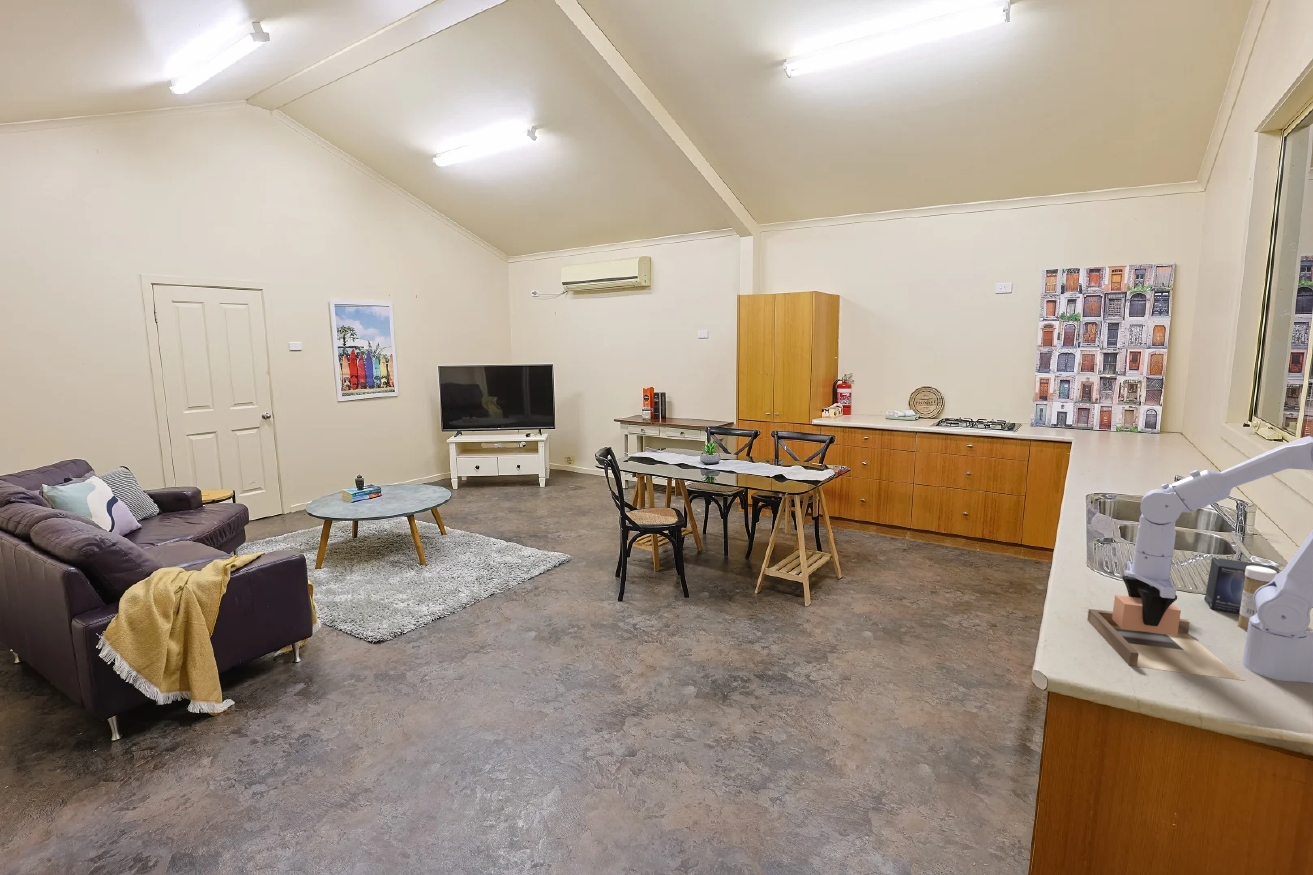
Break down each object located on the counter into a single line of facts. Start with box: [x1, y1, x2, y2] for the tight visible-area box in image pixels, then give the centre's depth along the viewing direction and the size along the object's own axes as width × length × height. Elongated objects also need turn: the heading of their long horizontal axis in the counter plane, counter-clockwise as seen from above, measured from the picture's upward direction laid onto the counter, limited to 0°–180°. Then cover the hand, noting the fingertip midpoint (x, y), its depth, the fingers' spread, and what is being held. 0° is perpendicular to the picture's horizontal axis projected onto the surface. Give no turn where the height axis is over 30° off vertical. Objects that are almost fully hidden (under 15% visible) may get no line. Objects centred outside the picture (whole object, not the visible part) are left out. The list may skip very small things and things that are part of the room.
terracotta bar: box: [1112, 594, 1182, 635], centre depth 120 cm, size 9×4×5 cm, turn 73°
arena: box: [1087, 608, 1245, 681], centre depth 117 cm, size 17×19×4 cm
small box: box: [1204, 556, 1281, 615], centre depth 136 cm, size 11×6×10 cm, turn 60°
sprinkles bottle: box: [1236, 566, 1277, 633], centre depth 125 cm, size 5×5×14 cm
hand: (1144, 619), depth 120 cm, fingers closed on terracotta bar, 4 cm apart
